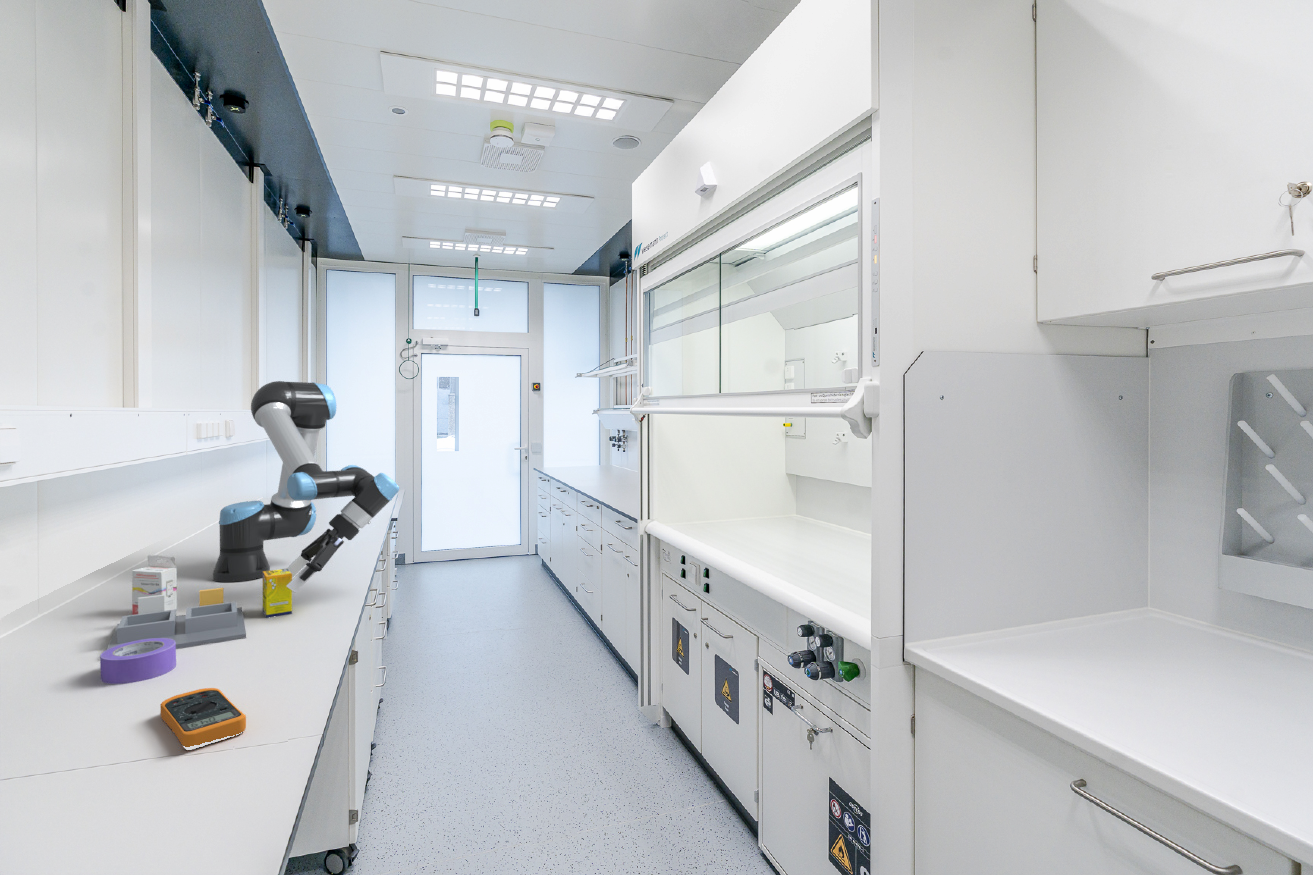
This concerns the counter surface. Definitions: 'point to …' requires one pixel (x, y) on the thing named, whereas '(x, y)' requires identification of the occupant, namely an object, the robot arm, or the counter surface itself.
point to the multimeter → (202, 716)
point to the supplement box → (277, 593)
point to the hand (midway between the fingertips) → (287, 583)
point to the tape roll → (138, 660)
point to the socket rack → (183, 622)
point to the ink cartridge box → (156, 581)
